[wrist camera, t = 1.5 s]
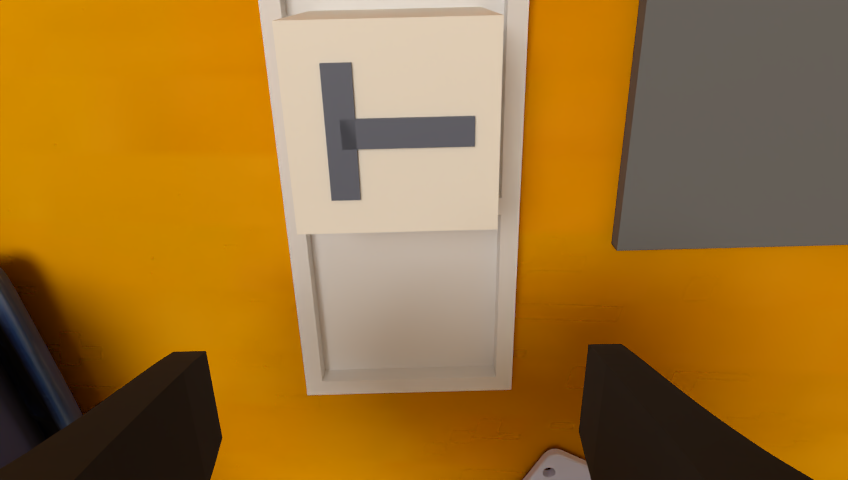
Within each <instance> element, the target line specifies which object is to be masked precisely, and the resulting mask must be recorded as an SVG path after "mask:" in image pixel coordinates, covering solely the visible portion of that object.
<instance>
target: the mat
mask: <svg viewBox="0 0 848 480" xmlns="http://www.w3.org/2000/svg"><path fill="white" fill-rule="evenodd" d="M612 245H613V246H614V247H615V249H616V250H617V251H620V250H658V249H697V248H736V247H775V246H813V245H848V0H640V1H639V10H638V19H637V27H636V36H635V45H634V53H633V62H632V71H631V79H630V88H629V97H628V105H627V114H626V123H625V131H624V140H623V149H622V157H621V166H620V175H619V183H618V192H617V201H616V209H615V218H614V227H613V235H612Z"/></svg>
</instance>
